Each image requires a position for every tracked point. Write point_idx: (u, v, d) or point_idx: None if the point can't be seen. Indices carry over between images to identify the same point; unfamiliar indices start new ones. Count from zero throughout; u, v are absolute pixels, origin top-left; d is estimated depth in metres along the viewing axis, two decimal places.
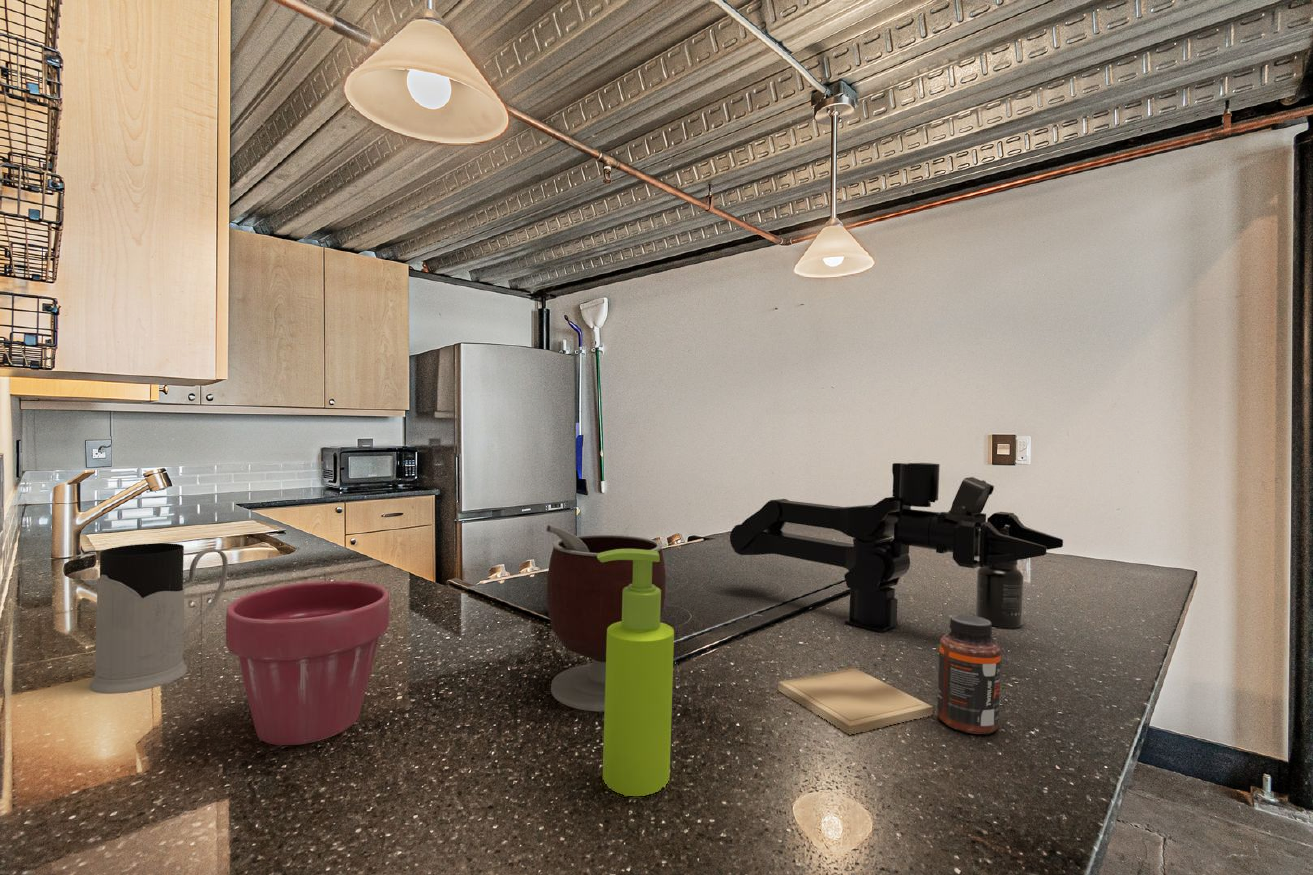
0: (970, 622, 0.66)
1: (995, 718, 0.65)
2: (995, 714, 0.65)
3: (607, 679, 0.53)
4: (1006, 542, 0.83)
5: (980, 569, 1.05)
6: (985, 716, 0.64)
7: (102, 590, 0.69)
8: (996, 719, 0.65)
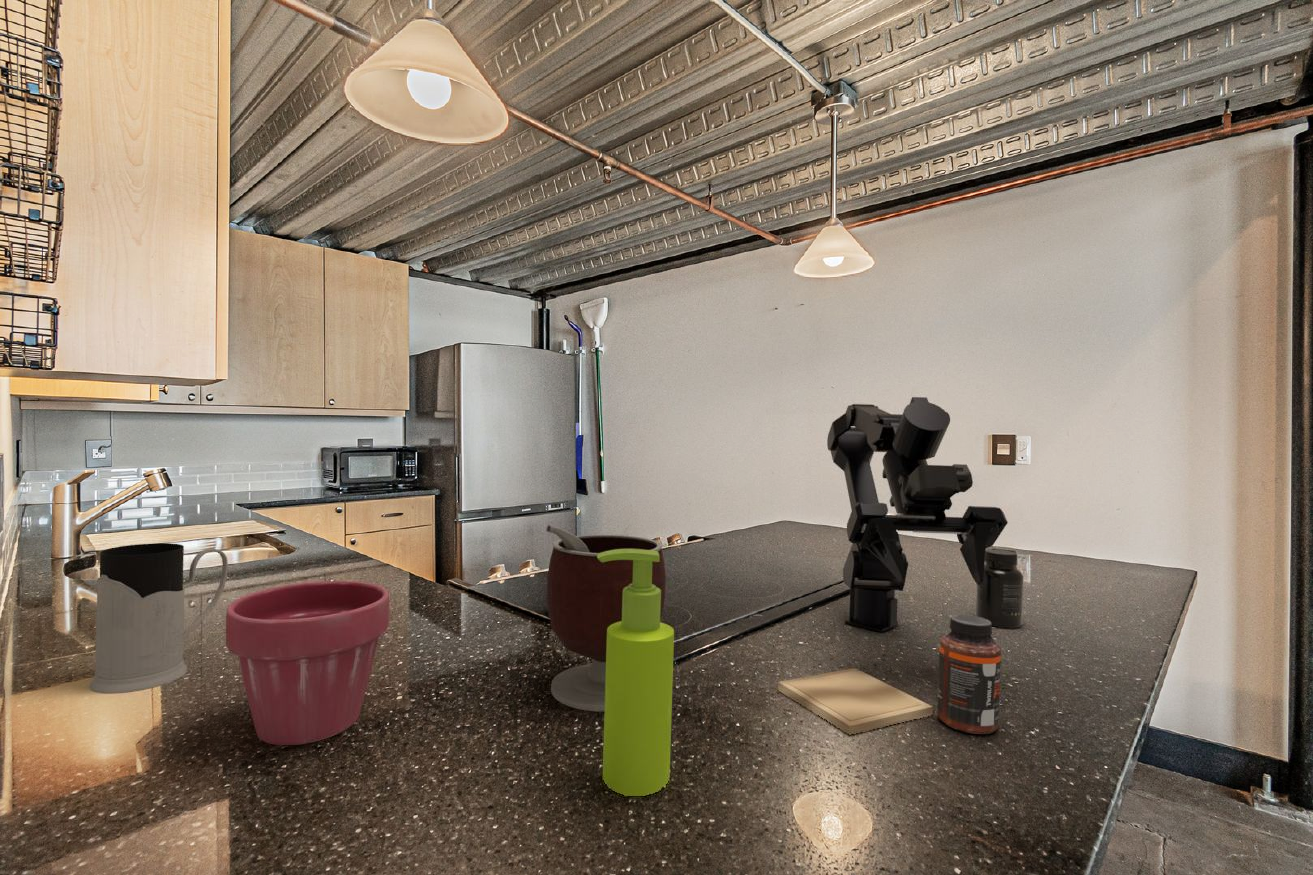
0: (970, 622, 0.66)
1: (995, 718, 0.65)
2: (995, 714, 0.65)
3: (607, 679, 0.53)
4: (885, 547, 0.78)
5: None
6: (985, 716, 0.64)
7: (102, 590, 0.69)
8: (996, 719, 0.65)
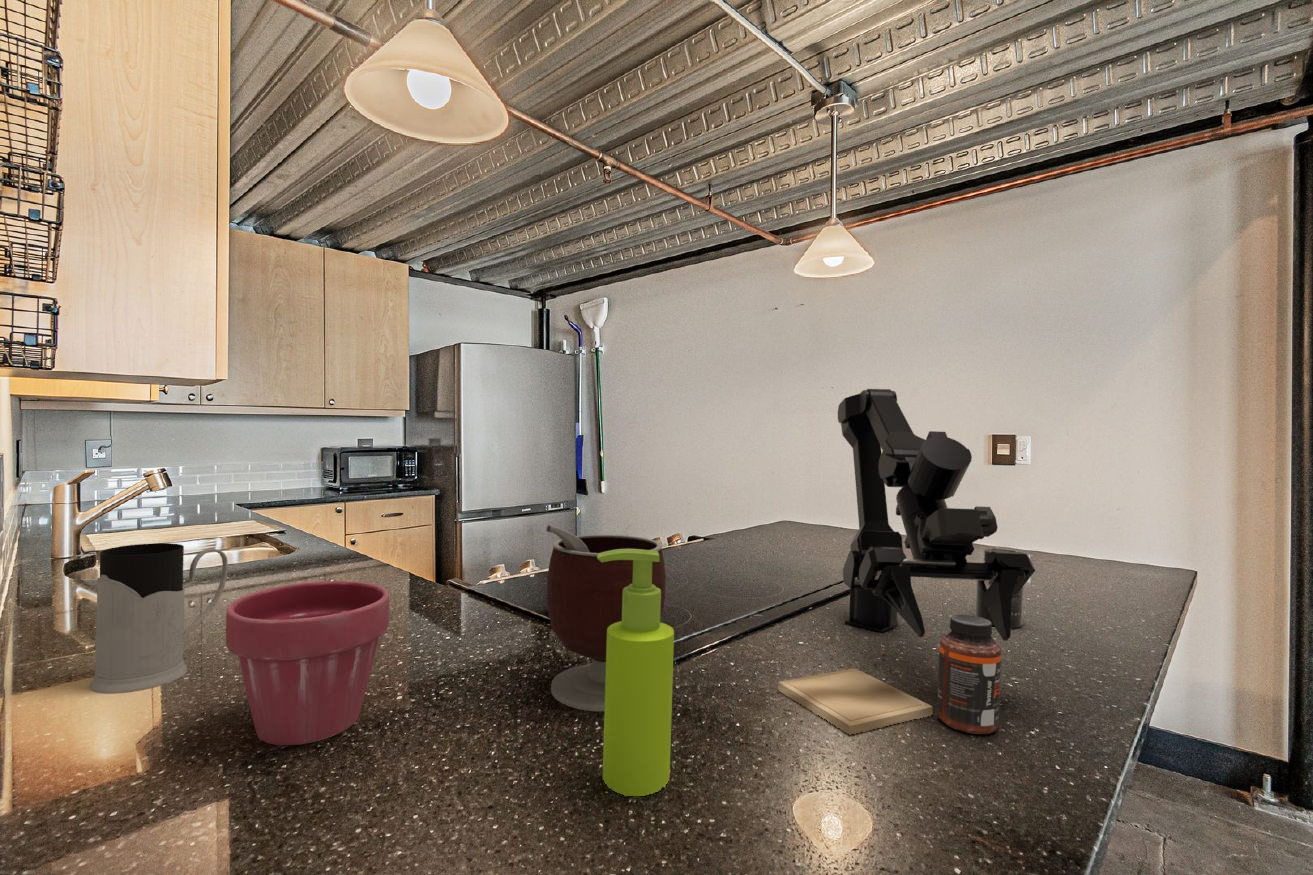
0: (970, 622, 0.66)
1: (995, 718, 0.65)
2: (995, 714, 0.65)
3: (607, 679, 0.53)
4: (902, 597, 0.71)
5: None
6: (985, 716, 0.64)
7: (102, 590, 0.69)
8: (996, 719, 0.65)
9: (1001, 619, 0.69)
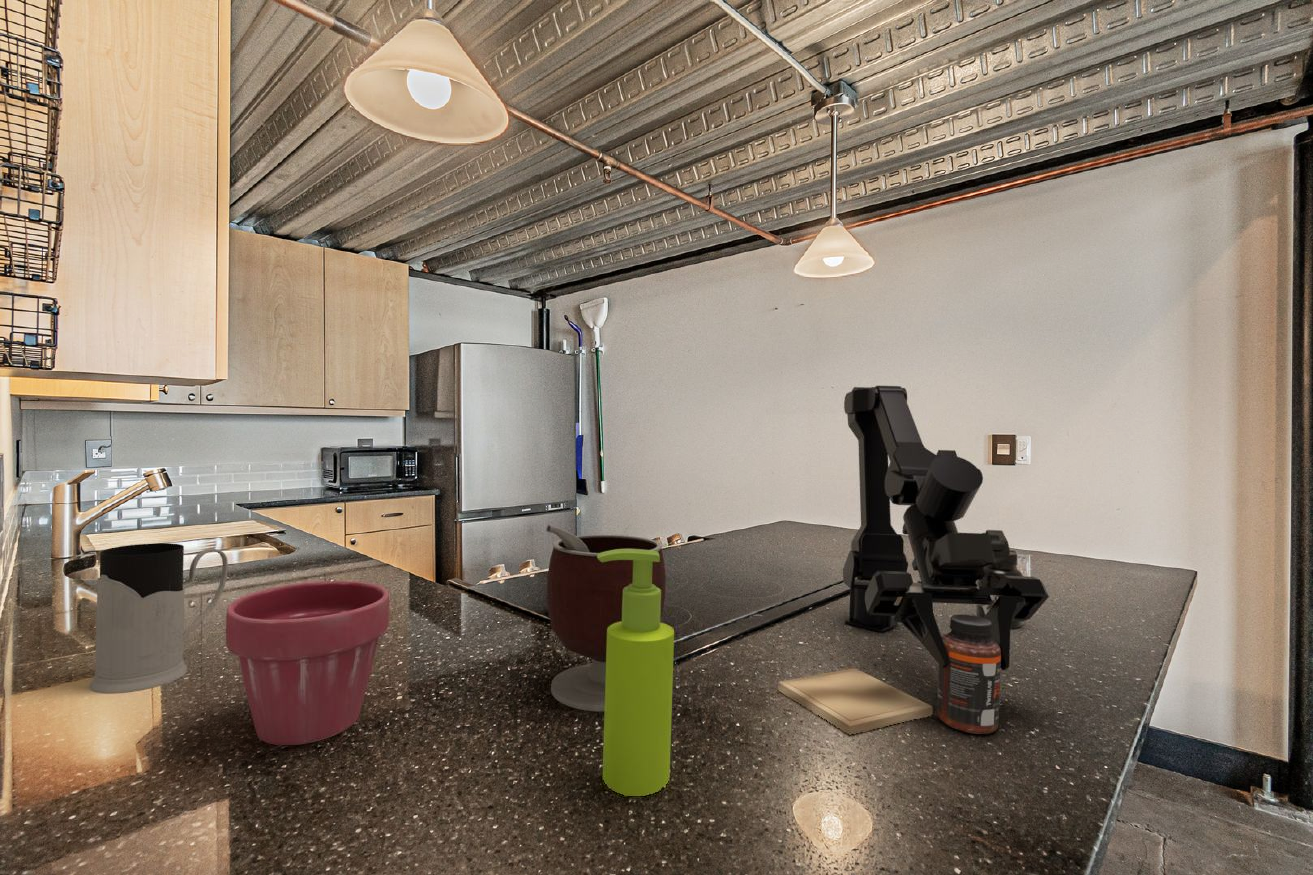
0: (970, 622, 0.66)
1: (995, 718, 0.65)
2: (995, 714, 0.65)
3: (607, 679, 0.53)
4: (924, 625, 0.68)
5: None
6: (986, 716, 0.64)
7: (102, 590, 0.69)
8: (996, 719, 0.65)
9: (1000, 648, 0.67)
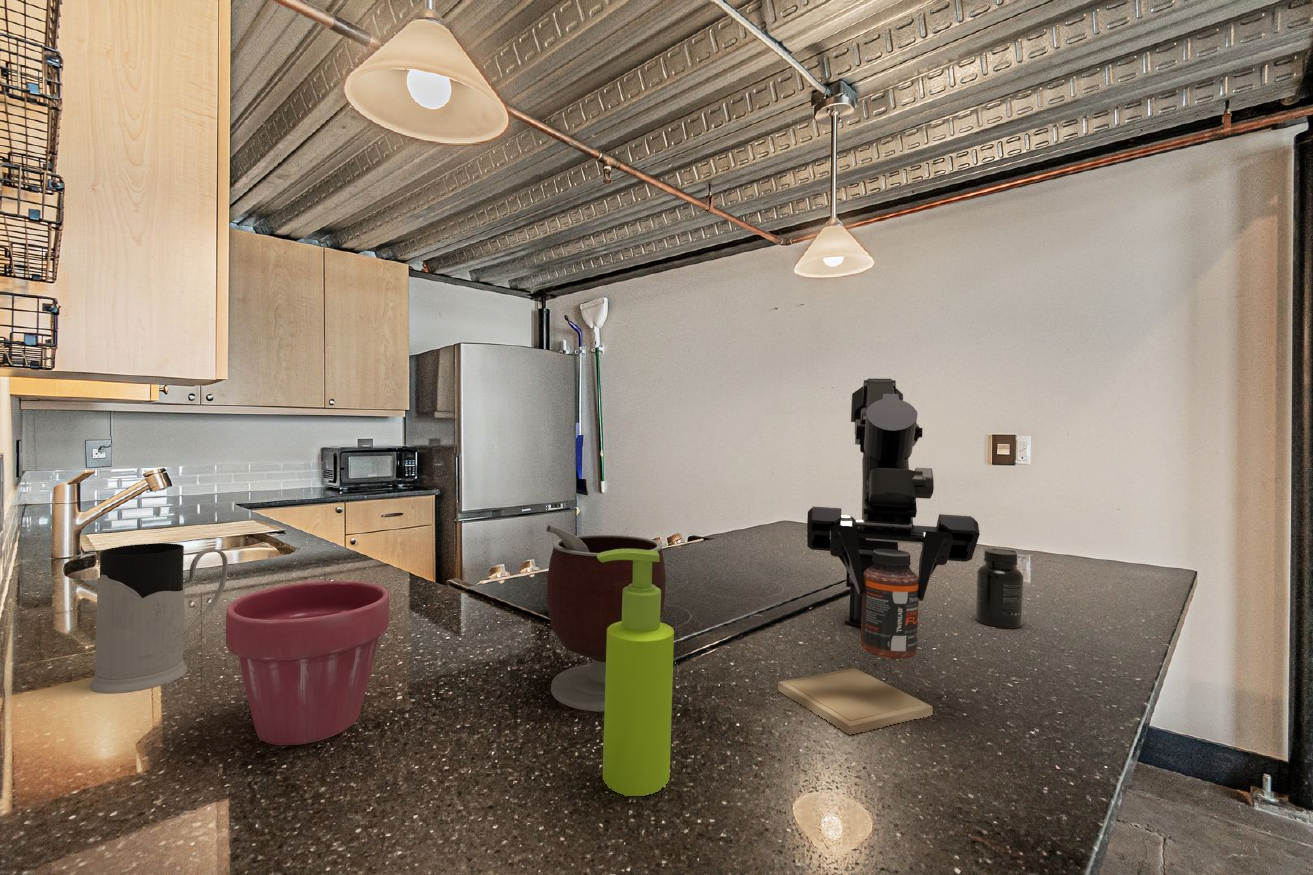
0: (886, 553, 0.69)
1: (908, 645, 0.67)
2: (907, 641, 0.67)
3: (607, 679, 0.53)
4: None
5: (980, 569, 1.05)
6: (896, 642, 0.67)
7: (102, 590, 0.69)
8: (909, 646, 0.67)
9: (919, 580, 0.69)
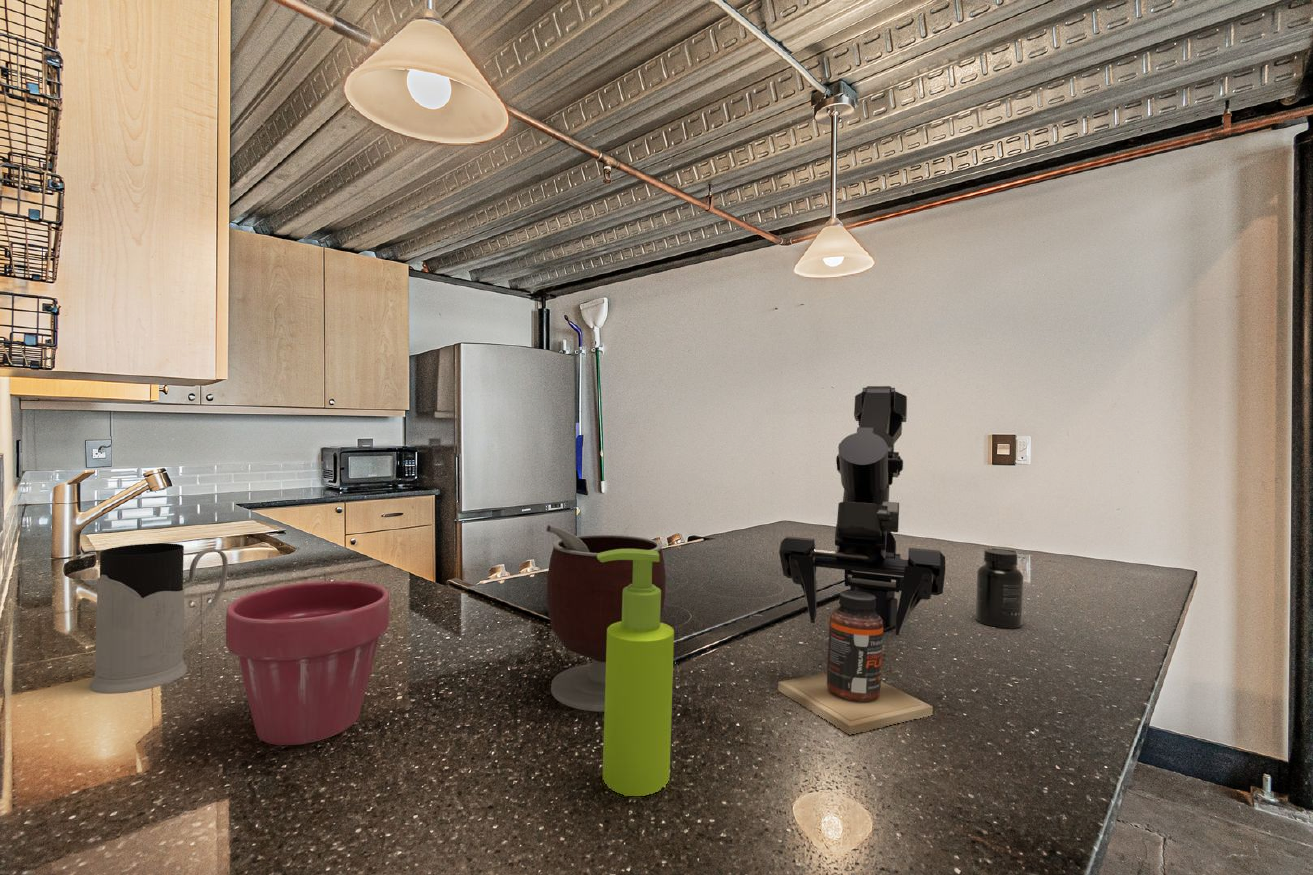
0: (851, 596, 0.71)
1: (868, 687, 0.69)
2: (868, 684, 0.69)
3: (607, 679, 0.53)
4: None
5: (980, 569, 1.05)
6: (856, 684, 0.69)
7: (102, 590, 0.69)
8: (870, 689, 0.69)
9: (897, 614, 0.69)
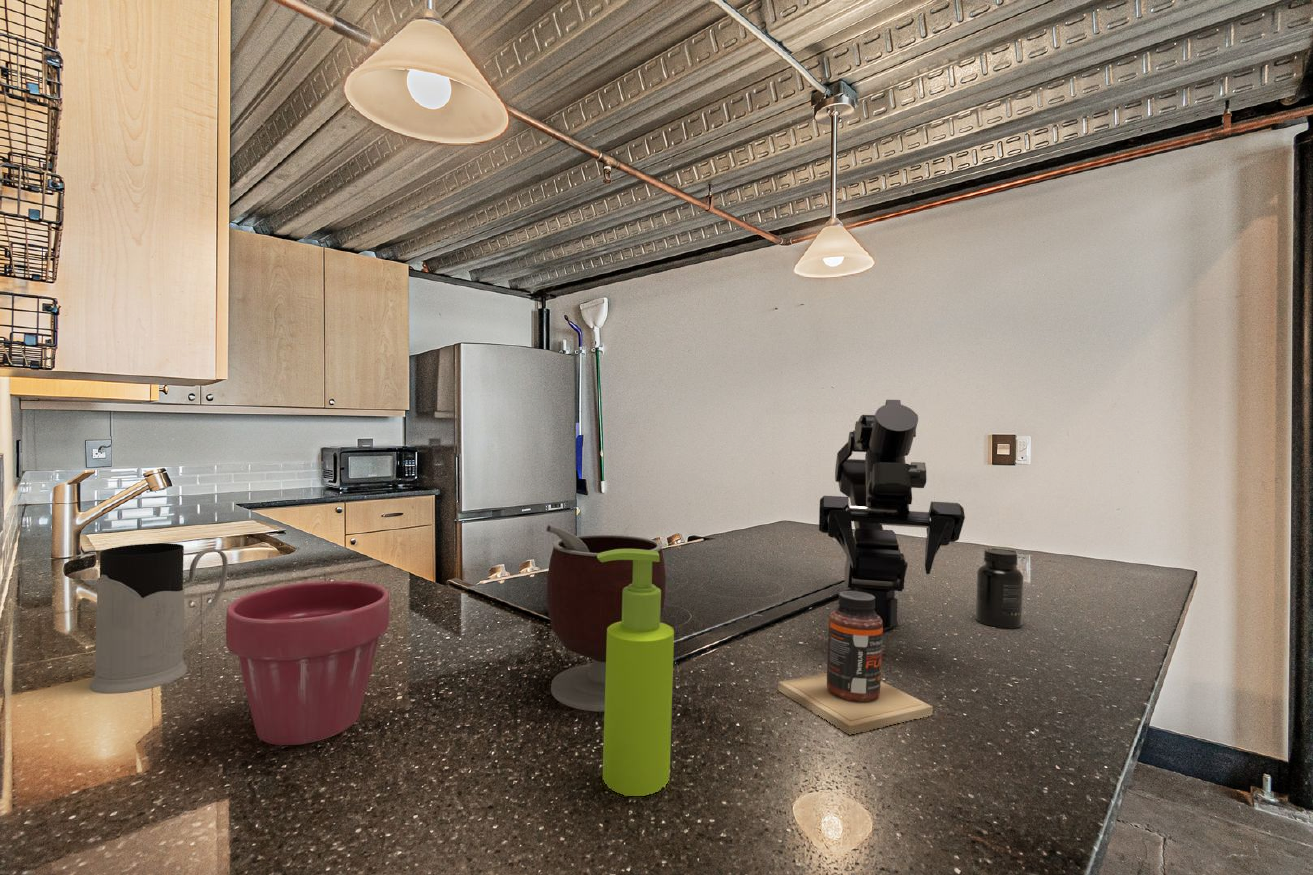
0: (850, 596, 0.71)
1: (868, 687, 0.69)
2: (868, 684, 0.69)
3: (607, 679, 0.53)
4: None
5: (980, 569, 1.05)
6: (856, 684, 0.69)
7: (102, 590, 0.69)
8: (870, 689, 0.69)
9: (926, 556, 0.81)
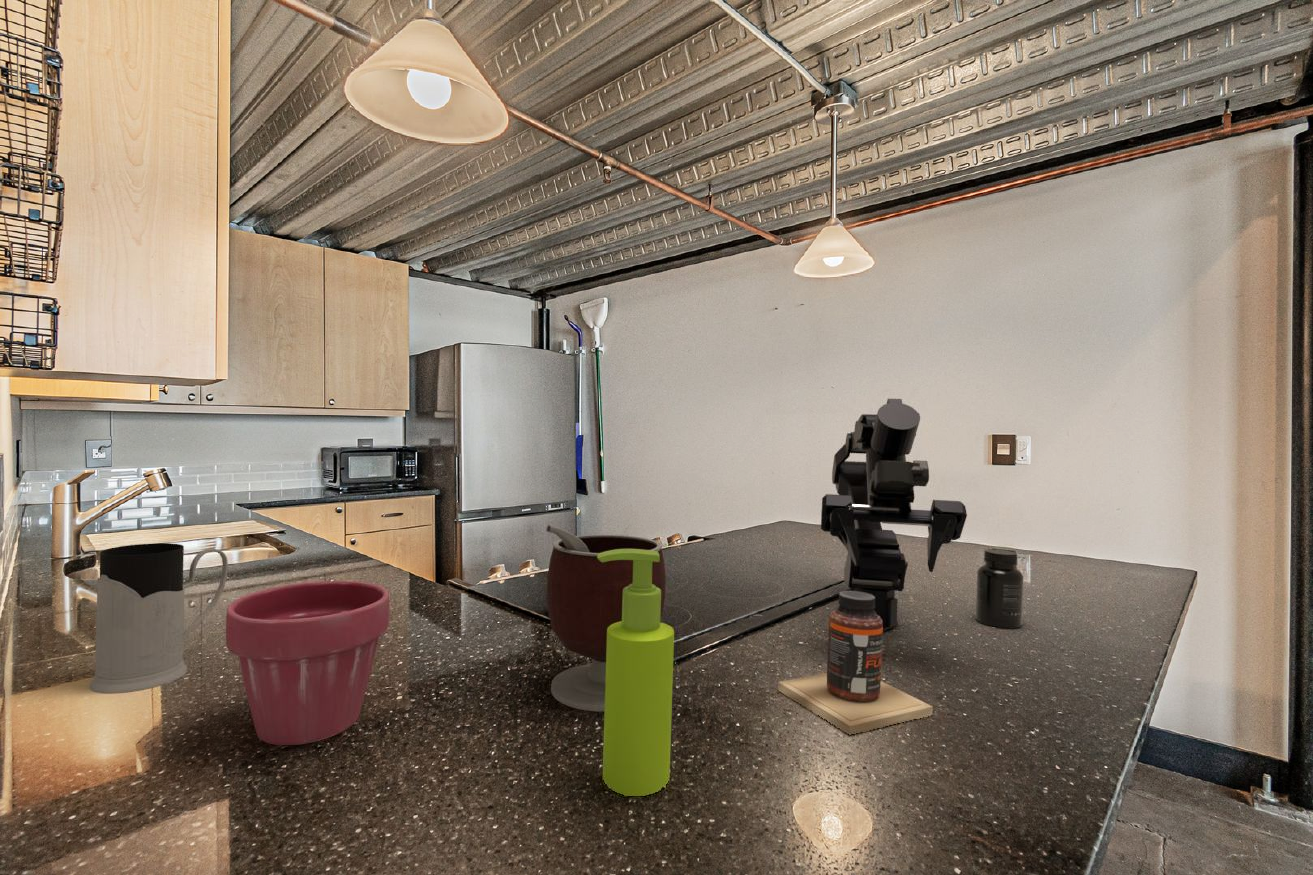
0: (850, 596, 0.71)
1: (868, 687, 0.69)
2: (868, 684, 0.69)
3: (607, 679, 0.53)
4: None
5: (980, 569, 1.05)
6: (856, 684, 0.69)
7: (102, 590, 0.69)
8: (870, 689, 0.69)
9: (929, 554, 0.82)
